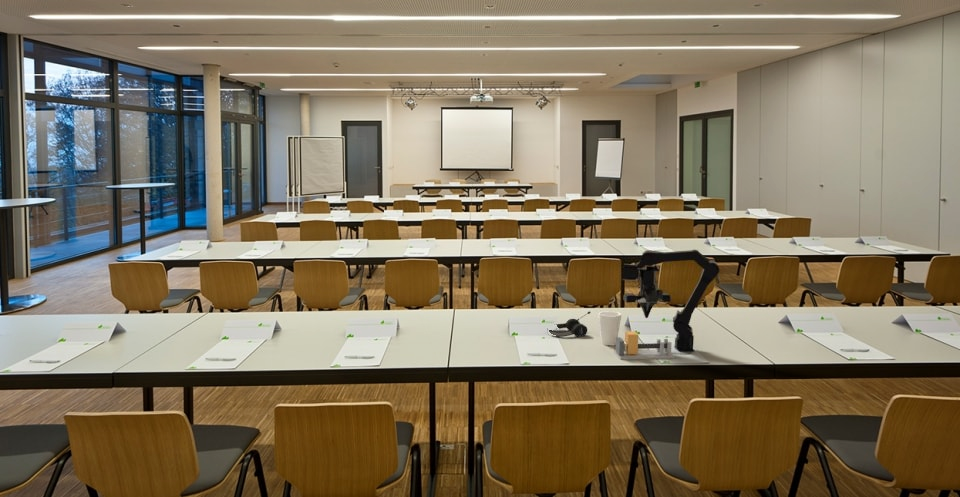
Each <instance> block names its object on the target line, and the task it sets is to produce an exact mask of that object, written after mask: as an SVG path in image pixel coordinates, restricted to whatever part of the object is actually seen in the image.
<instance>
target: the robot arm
mask: <svg viewBox="0 0 960 497" xmlns="http://www.w3.org/2000/svg"><path fill="white" fill-rule="evenodd" d="M681 261H683V262H685V261H694V262H695V263H696V264H697V265H698V266H699V267H700V268H702V271H701V274H700V278H699V280H698V282H697V284H696V286H695V288H694V289H693V291H692V293H691V294H690V296H689V298H688V299H687V302H686V304H685V306H684V307H683V309H681V311H680V310H676V313H675V316H673V317H672V322H673V324H672V325H673V327H672V328H673V330H674V331H675V333H677V334H676V337H675V338H674V349H675V350H677V351H678V352H695V349H694V341H695V340H694V337H695V336H694V331H693V327H692V326H691V325H690V322H691V319H692V315H693V313H694V311H695V309H696V308H697V306H698V304H699V302H700V301H701V299H702V297H703V295H704V293H705V291H706V290H707V288H708V286H709V285H710V284H711V283H712V281H714V280H715V278H716V277H717V276H718V275H719V273H720V266H719V265H718V264H719V263H718V262H716V261H715V260H710V259H709V258H708V257H706V256H705V255H704V254H702V253H701V252H700V251H699V249H689V250H678V251H658V250H649V249H648V250H647V249H646V250H645V251H643V252H642V255H641V257H640V259H639V261H638V262H637V263H636V264H631V263H623V265H622V266H623V268H622V273H621V275H622V276H621V278H622V281H634V282H635V281H637V280H638V279H640V282H639V285H640V286H639V289H640V291H639V295H636V294H635V293H633V292H632V293H631V292H629V293H628V292H627V293H624V294H623V297H622V299H623V301H625V303H638V304H639V305H640V308H641V310H642V312H643V315H644V318H645V319H649V316H650V313H651V312H652V309H653V307H654V306H655V305H657V304H658V302H659V300H660V301H662V302H663V303H672V302H671V301H672V296H671V295H670V294H669V293H667V292H664V291H663V289H656V284H655V282H656V272H660V267H658V264H662V263H666V262H667V263H668V262H669V263H670V262H681Z"/></svg>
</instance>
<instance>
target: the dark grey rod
mask: <svg viewBox="0 0 960 497" xmlns="http://www.w3.org/2000/svg"><path fill="white" fill-rule="evenodd" d="M667 345H668V343H664V348H667ZM656 348H660V343H657V342H656V343H638V350H654V349H656ZM624 351H627V344H626V342H625V341H624Z"/></svg>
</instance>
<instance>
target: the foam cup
mask: <svg viewBox="0 0 960 497" xmlns="http://www.w3.org/2000/svg"><path fill="white" fill-rule="evenodd" d="M621 320H622V313H621V312H618V311H612V310H611V311H607V310H606V311H605V310H604V311H600V312H598V324H599V332H600V341H601V344H602V345H603V344H604V345H603V346H608V345H612V346H616V337H619V332H620V325H621Z"/></svg>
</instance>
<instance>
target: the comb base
mask: <svg viewBox="0 0 960 497" xmlns="http://www.w3.org/2000/svg"><path fill="white" fill-rule="evenodd" d="M624 342H625V340H624V339H623V338H621V337H620V336H618V337H616V345H615V349H614V350H613V352H614V354H615V355H616V356H617V358H619V360H655V359H656V360H659V359H661V360H664V359H668V360H669V359H676V356H675V355H674V354H673V353H672V342H671V341H669V340H668V339H667V338H663V341H661V339H660V338H657V339H656V343H660V348H655V349H638V354H627V353H626V352H625V351H624ZM664 343H668V345H667V348H664Z"/></svg>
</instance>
